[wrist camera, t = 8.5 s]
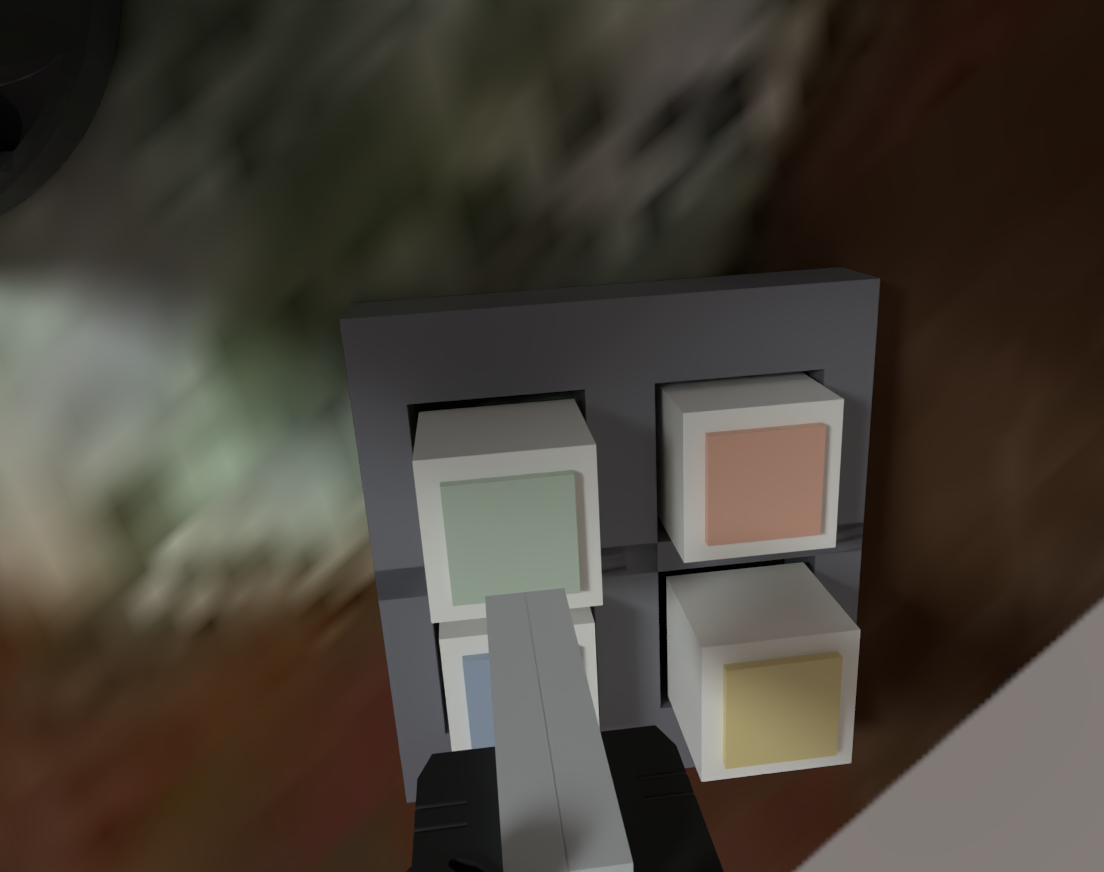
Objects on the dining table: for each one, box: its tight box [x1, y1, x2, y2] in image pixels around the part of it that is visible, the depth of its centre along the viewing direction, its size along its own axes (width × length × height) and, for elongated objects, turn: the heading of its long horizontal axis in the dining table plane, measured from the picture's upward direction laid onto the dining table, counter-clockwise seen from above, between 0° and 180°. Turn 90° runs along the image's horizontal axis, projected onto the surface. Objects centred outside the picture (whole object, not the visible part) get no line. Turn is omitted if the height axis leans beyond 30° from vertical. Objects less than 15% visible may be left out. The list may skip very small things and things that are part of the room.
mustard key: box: [666, 562, 861, 782], centre depth 25 cm, size 4×4×4 cm
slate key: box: [439, 607, 600, 751], centre depth 26 cm, size 4×4×4 cm
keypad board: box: [339, 267, 880, 803], centre depth 27 cm, size 16×15×2 cm
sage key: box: [412, 399, 603, 623], centre depth 23 cm, size 4×4×4 cm
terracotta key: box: [655, 371, 844, 563], centre depth 25 cm, size 4×4×4 cm
